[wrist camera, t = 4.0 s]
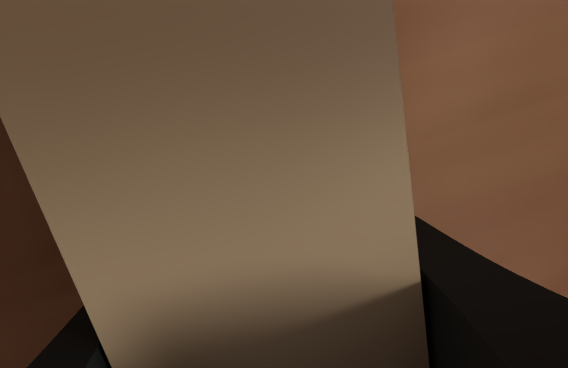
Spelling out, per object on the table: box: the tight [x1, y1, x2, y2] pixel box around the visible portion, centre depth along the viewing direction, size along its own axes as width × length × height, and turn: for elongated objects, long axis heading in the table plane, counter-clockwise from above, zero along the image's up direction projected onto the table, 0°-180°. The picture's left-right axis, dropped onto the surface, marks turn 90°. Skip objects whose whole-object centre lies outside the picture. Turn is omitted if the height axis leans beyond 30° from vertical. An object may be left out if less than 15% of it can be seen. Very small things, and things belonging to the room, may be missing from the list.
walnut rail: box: [0, 0, 429, 368], centre depth 9 cm, size 22×4×4 cm, turn 11°
